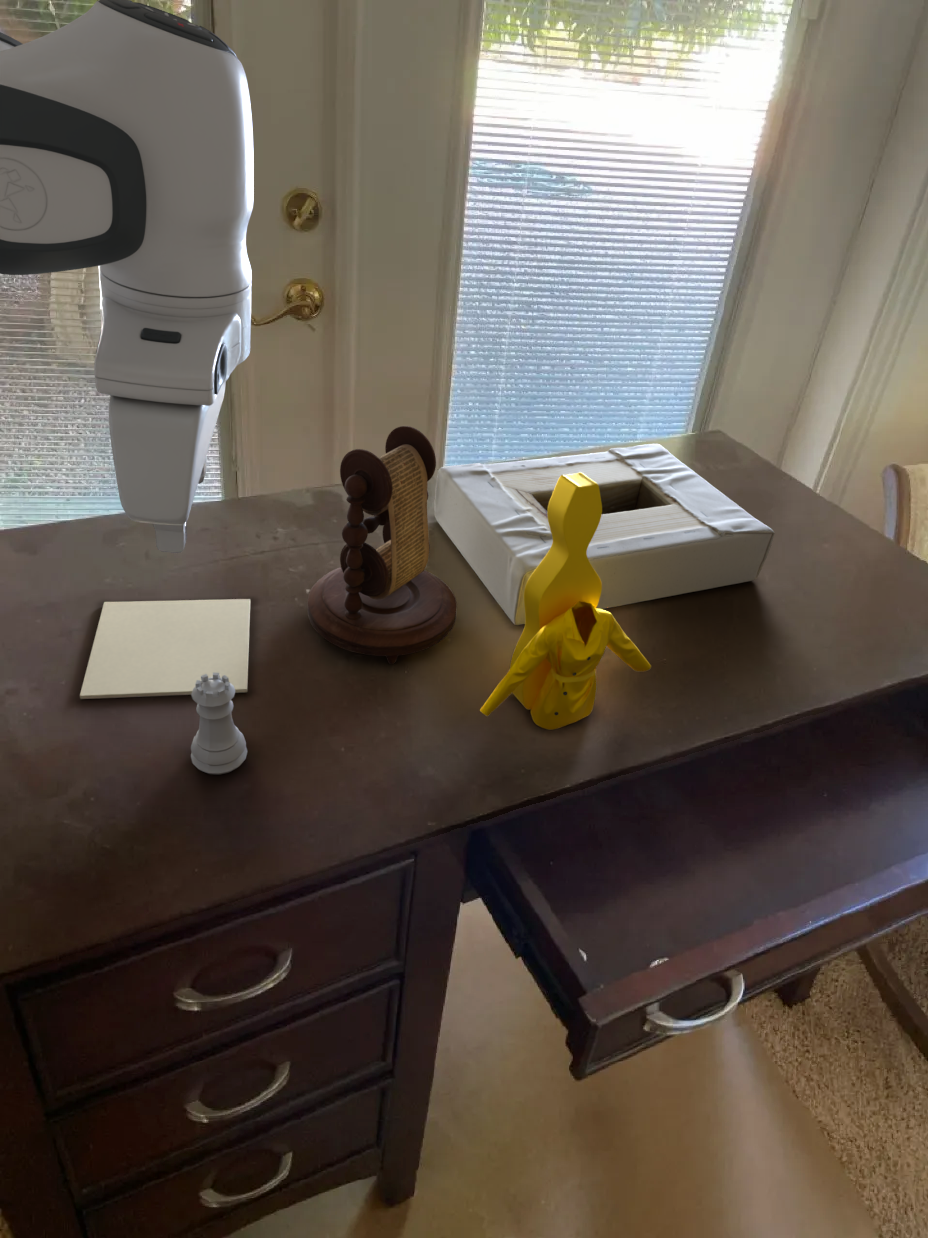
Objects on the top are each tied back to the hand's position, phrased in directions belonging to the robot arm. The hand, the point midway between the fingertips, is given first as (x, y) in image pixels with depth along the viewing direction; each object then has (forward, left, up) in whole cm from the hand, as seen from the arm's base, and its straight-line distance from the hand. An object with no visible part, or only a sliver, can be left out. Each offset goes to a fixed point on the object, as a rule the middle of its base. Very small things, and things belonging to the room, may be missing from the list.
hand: (183, 510), depth 64 cm
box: (+42, +27, -21) cm, 54 cm away
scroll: (+16, +14, -21) cm, 30 cm away
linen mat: (-4, +11, -21) cm, 23 cm away
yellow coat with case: (+31, 0, -21) cm, 37 cm away
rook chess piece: (+1, -4, -21) cm, 21 cm away
